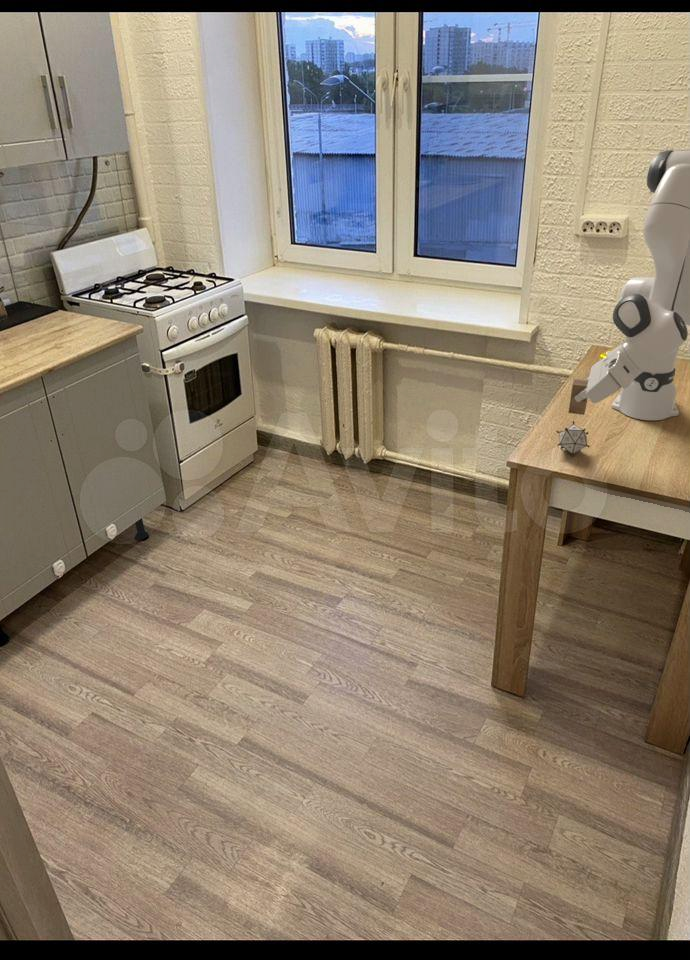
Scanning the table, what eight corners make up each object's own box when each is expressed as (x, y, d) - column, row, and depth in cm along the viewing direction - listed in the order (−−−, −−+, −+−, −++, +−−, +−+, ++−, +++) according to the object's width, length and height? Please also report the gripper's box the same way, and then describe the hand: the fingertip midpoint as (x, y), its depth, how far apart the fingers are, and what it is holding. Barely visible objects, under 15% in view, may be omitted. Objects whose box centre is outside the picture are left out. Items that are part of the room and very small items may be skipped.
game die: (565, 460, 196) (566, 424, 197) (594, 459, 190) (596, 422, 191) (549, 455, 190) (551, 418, 191) (579, 454, 184) (580, 416, 185)
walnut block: (569, 406, 188) (574, 378, 184) (585, 408, 187) (590, 380, 183) (568, 412, 185) (572, 384, 181) (584, 414, 184) (588, 386, 180)
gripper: (617, 340, 184) (573, 372, 192) (613, 368, 167) (564, 401, 175) (632, 359, 185) (588, 389, 193) (629, 388, 168) (581, 419, 176)
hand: (576, 395), depth 184 cm, fingers closed on walnut block, 4 cm apart
